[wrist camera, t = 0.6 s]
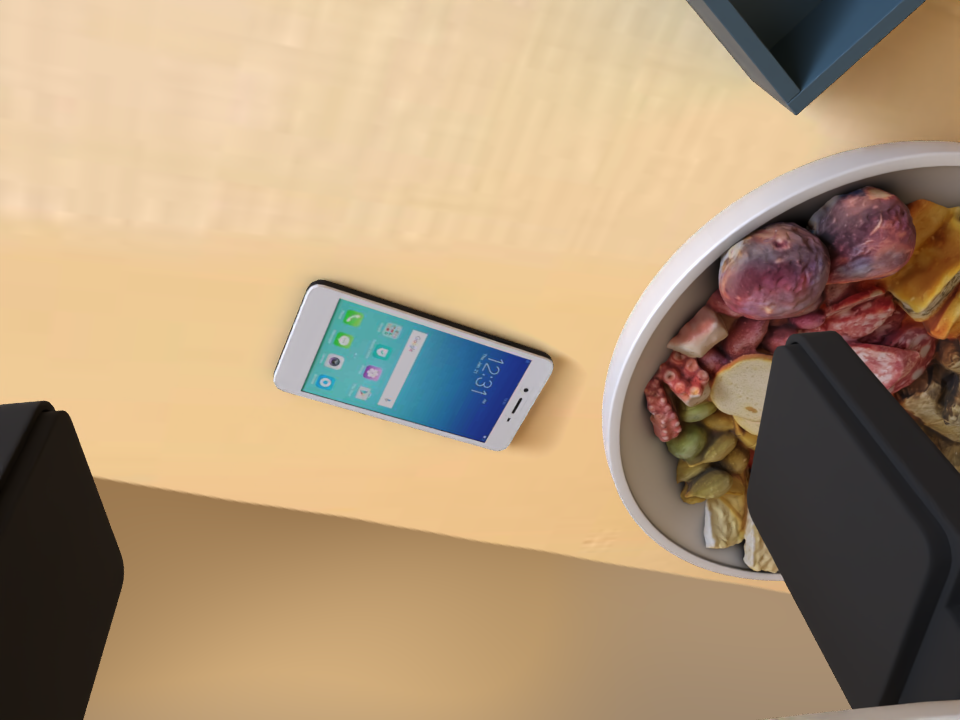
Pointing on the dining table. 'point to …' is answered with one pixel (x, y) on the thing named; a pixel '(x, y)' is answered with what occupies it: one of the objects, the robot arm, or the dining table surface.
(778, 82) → the blue open storage box
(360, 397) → the smartphone
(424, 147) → the dining table surface
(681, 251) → the bowl
